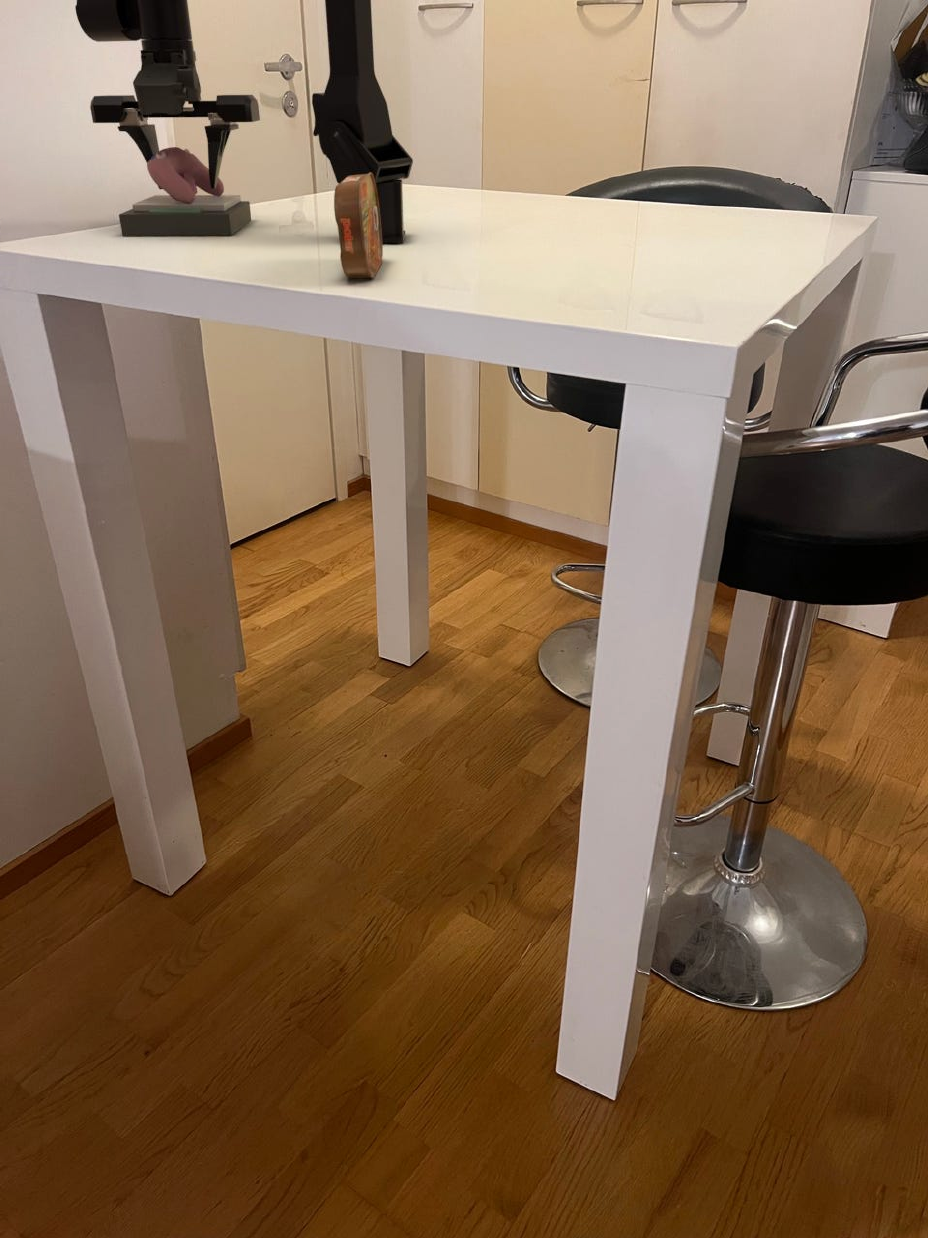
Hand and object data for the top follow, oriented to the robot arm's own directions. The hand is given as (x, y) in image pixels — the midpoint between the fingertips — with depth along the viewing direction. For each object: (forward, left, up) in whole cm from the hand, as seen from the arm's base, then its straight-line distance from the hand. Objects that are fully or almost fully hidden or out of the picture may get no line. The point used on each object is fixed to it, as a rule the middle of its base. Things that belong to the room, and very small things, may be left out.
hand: (187, 188), depth 116 cm
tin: (-24, +31, -5) cm, 39 cm away
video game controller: (0, 0, -1) cm, 1 cm away
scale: (0, +1, -4) cm, 4 cm away
